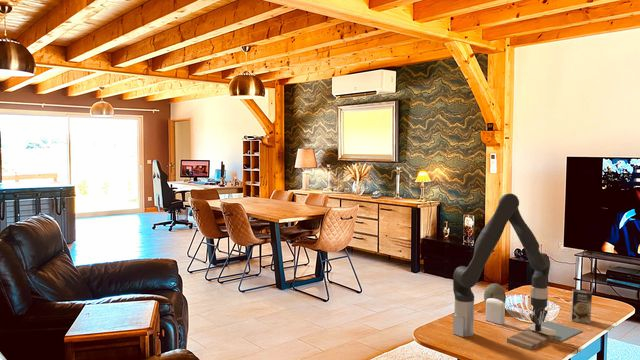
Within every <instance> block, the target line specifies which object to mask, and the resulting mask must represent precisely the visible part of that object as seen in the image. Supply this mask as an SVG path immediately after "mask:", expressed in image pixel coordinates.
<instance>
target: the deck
mask: <svg viewBox="0 0 640 360" xmlns="http://www.w3.org/2000/svg"><path fill="white" fill-rule="evenodd" d="M553 340H554V339H553V336H551V335H547V334H543V333H540V332H537V331H534V330H531V329H528V330H523V331H521V332H519V333H516V334H514V335H511V336H509V337H507V338H506V343H508V344H511V345H514V346H517V347H520V348H523V349H526V350H529V351H533V350H535V349H536V348H539V347H541V346H543V345H545V344H547V343H550V342H551V341H553Z"/></svg>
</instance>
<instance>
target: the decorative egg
mask: <svg viewBox="0 0 640 360" xmlns="http://www.w3.org/2000/svg"><path fill="white" fill-rule="evenodd" d="M489 298H495V299H498V300H501V301H502V302H504V303H506V293H505V289H504V288H503V286H501V284H499V283H496V282H494V283H493V282H492V283H490V284H488V285H487V286H486V287H485V289H484V292H483V301H484V304H485V305H486V300H487V299H489Z"/></svg>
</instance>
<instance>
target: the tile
mask: <svg viewBox="0 0 640 360" xmlns="http://www.w3.org/2000/svg"><path fill="white" fill-rule="evenodd" d="M529 327H530V329H531V330H534V331H535V324H534V323H531V324H530V326H529ZM540 333H543V334H547V335H553V336H555V335H556V330H552V329H549V328H546V327H542V326H541V331H540Z"/></svg>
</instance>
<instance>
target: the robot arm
mask: <svg viewBox="0 0 640 360" xmlns="http://www.w3.org/2000/svg"><path fill="white" fill-rule="evenodd" d="M519 205H520V199H519V197H518V196H517V195H516V194H514V193H505V194H504V195H502V196H500V198H499V201H498V204H497V206H496V209H495V210H494V213H493V215H492V216H491V218H490V219H489V220H488V222H487V223H486V224H485V225H484V227H483V228H482V229H481V231H480V233H479V235H478V237H476V241H475V244H474V250H473V257H472V259H471V260H470V262H469V264H468V266H465V265H460V266H458V267H456V268H455V269H454V272H453V277H452V283H453V284H452V286H453V287H452V288H453V294H454V312H453V313H454V314H453V316H452V317H453V319H452V334H453V335H456V336H459V337H462V338H466V337H472V336H474V323H475V322H474V320H475V319H474V317H475V314H474V313H475V294H474V292H473V290H472V288H473V287H475V285H476V284H477V283H478V281H479V279H480V277H481V274H482V272H483V270H484V267H485V266H486V264H487V262H488V260H489V258H490V257H491V254H492V253H493V251H494V250H495V248H496V246H497V244H498V243H499V241H500V239H501V237H502V234H503V233H504V230H505V228H506V227H507V226H506V225H507V223H508V222H509V223H510V225H511V227H512V228H513V230H514V232H515V234H516V236H517V238H518V239H519V242H520V243H521V246H522V247H523V249H524V251H525V254H526V257H527V260H528V262H529V265H530V267H531V268H532V270H533V269H534V272H533V274H532V276H531V287H530V305H531V307H532V312H531V313H529V318H530V320H531V322H532V324H534V325H535V331H537V332H540V331H541V324H542V322H544V321H546V320H545V319H546V316H547V314H548V310H547V309H546V308H547V307H548V299H549V298H548V296H549V292H548V291H549V290H548V282H549V281H548V280H549V279H548V278H549V273H550V271H551V269H550V268H551V261H550V258H549V256H548V255H546V254H543V253H541V251H540V247H541V246H540V244H539V242H538V240H537V238H536V236H535V234H534V232H533V231H532V230H531V228H530V227H529V226H528V224H527V223H526V222H525V220H524V218H523V216H522V214H521V212H520V210H519Z"/></svg>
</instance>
